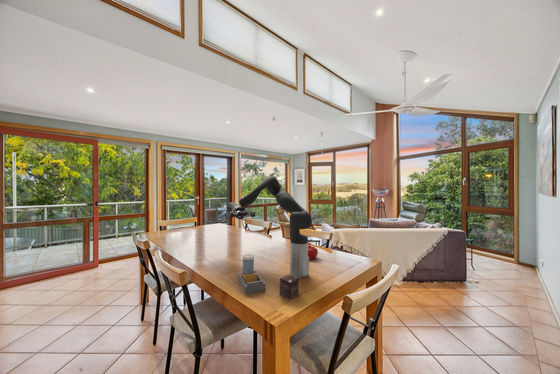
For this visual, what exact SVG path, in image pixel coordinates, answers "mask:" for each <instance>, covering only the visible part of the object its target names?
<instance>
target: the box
mask: <svg viewBox="0 0 560 374" xmlns="http://www.w3.org/2000/svg"><path fill="white" fill-rule="evenodd" d="M299 281H300V278H298V277H295V276H292V275H290V273H288V274H286V275H283V276H282V277H280V278H279V295H280V296H281V297H285V298H286V299H288V300H292V299H293V298H295V297H297V296H298V295H299V294H300V292H299V290H300V289H299V288H300V287H299V285H300V282H299Z"/></svg>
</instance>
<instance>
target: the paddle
mask: <svg viewBox="0 0 560 374" xmlns="http://www.w3.org/2000/svg"><path fill="white" fill-rule="evenodd" d="M257 274H258V273H254V274H247V275H243V280H244V282H245V283H246V284H247V283H249V282H255V281H257Z"/></svg>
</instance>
